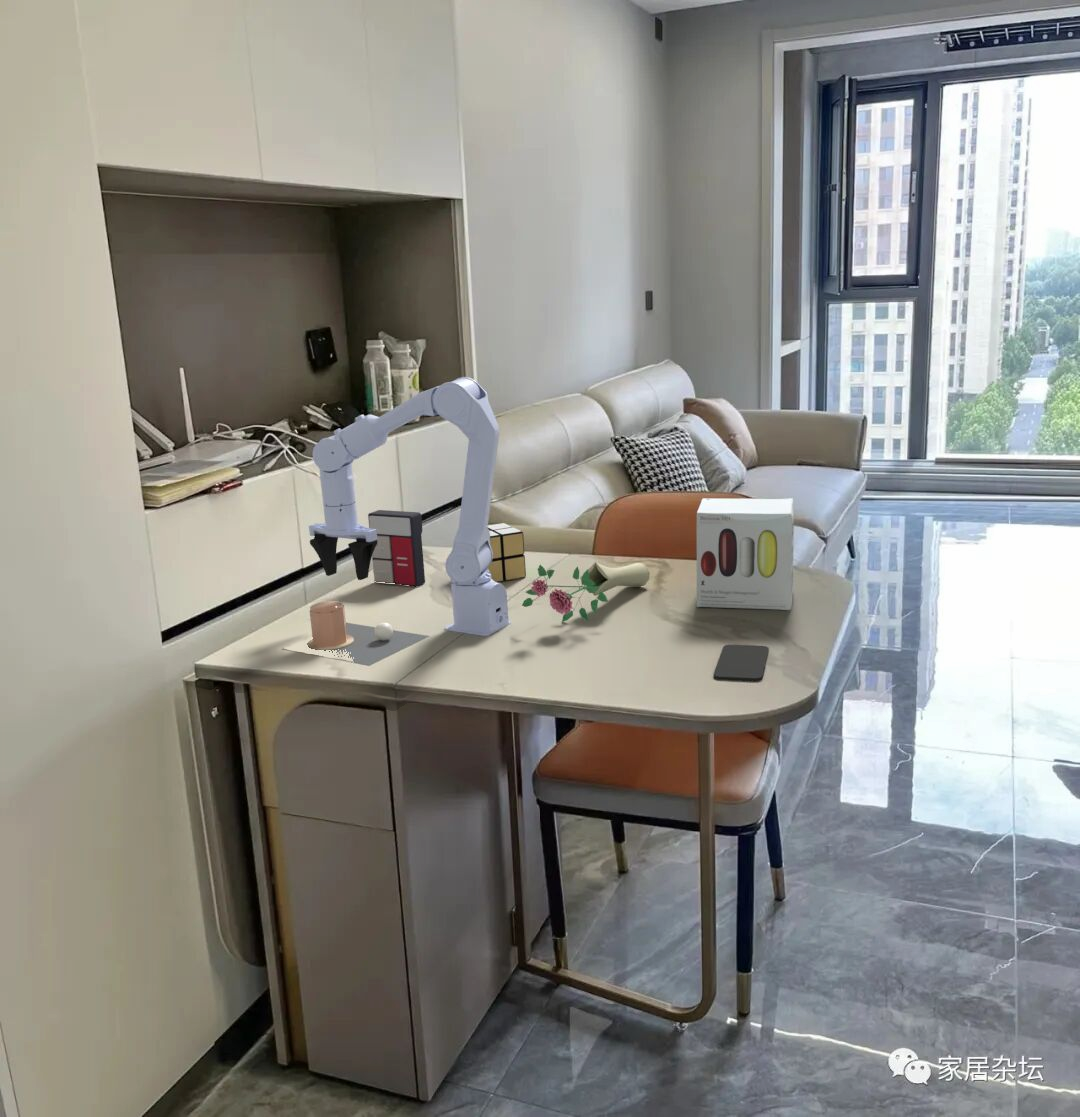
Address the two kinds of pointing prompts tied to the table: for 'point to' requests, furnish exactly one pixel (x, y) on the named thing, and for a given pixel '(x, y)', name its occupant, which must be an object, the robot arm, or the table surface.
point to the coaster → (347, 643)
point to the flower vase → (589, 585)
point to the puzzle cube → (506, 553)
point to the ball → (383, 631)
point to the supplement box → (745, 553)
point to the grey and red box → (398, 547)
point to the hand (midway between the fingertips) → (347, 576)
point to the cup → (328, 623)
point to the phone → (741, 663)
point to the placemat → (376, 644)
